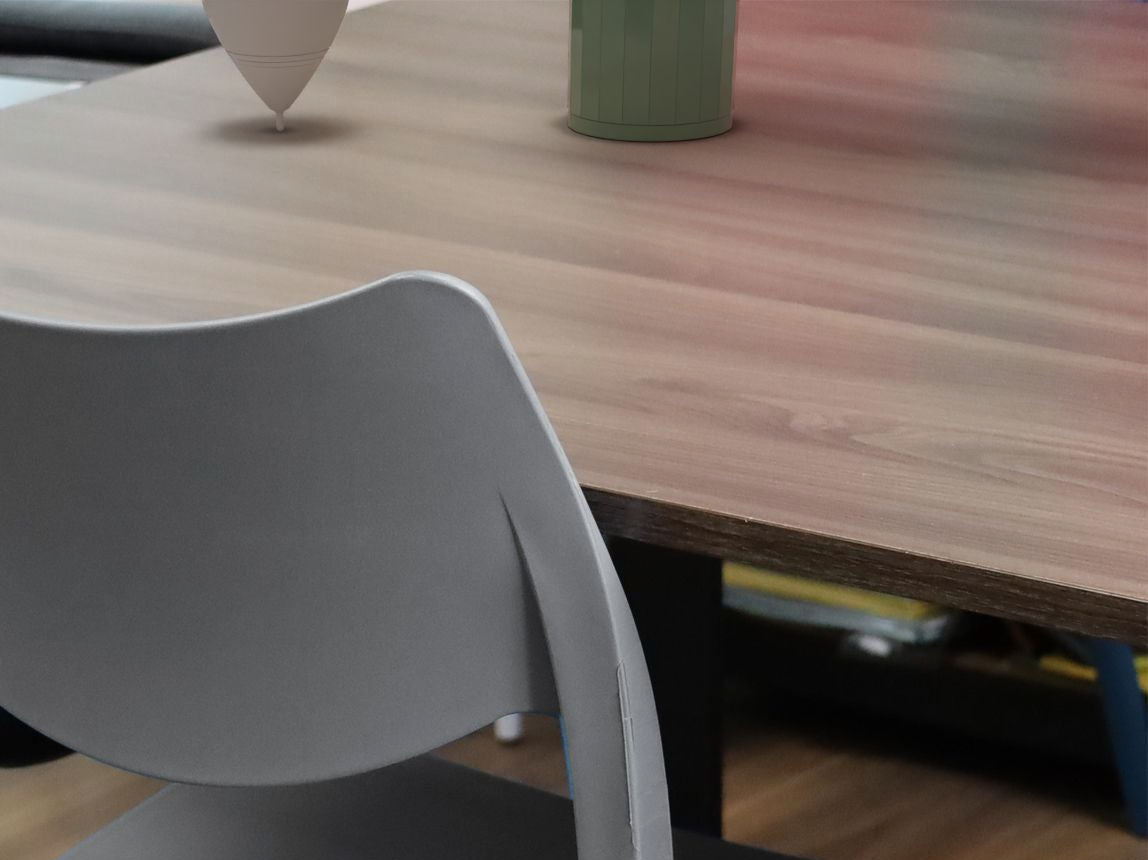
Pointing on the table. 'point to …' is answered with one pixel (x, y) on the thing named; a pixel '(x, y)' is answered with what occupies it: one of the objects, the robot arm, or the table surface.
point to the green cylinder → (652, 68)
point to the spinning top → (276, 43)
